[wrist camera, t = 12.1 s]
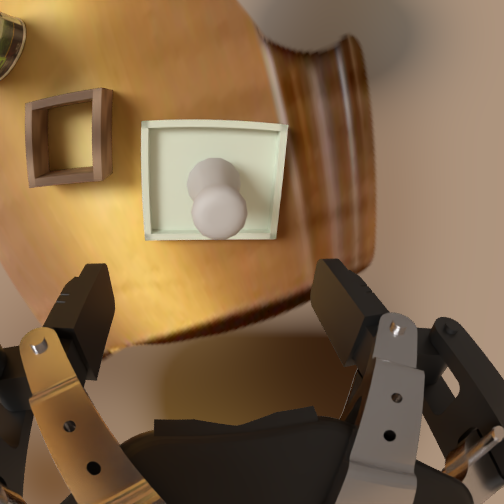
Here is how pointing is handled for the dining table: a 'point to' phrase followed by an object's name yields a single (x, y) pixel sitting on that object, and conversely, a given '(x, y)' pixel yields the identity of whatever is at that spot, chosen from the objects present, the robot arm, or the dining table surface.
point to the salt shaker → (216, 199)
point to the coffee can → (10, 42)
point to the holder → (39, 139)
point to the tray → (198, 149)
